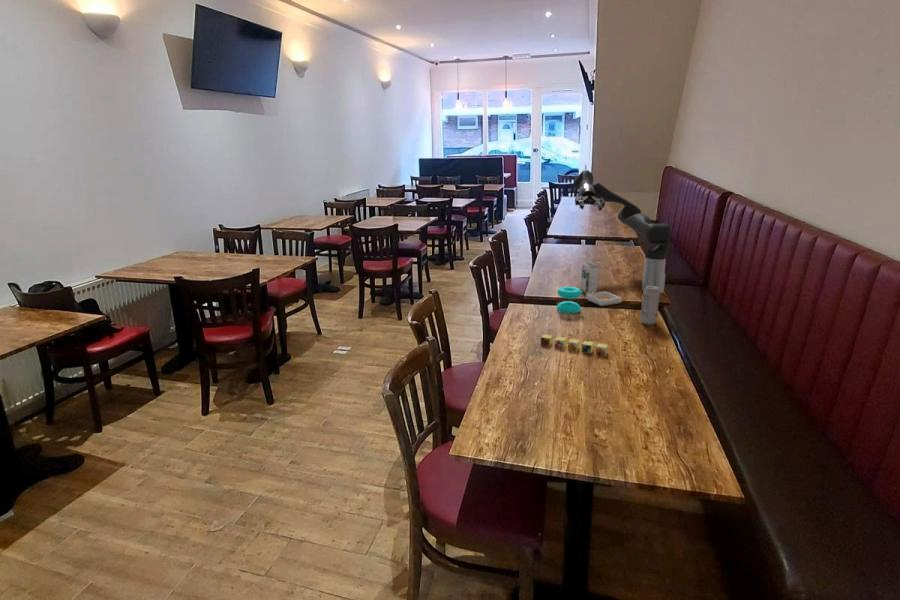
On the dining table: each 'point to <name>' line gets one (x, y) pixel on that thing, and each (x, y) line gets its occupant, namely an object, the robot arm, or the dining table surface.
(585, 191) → the robot arm
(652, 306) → the energy drink can
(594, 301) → the tray
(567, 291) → the donuts
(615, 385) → the dining table surface
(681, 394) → the dining table surface
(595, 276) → the syrup box
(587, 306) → the dining table surface
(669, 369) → the dining table surface
